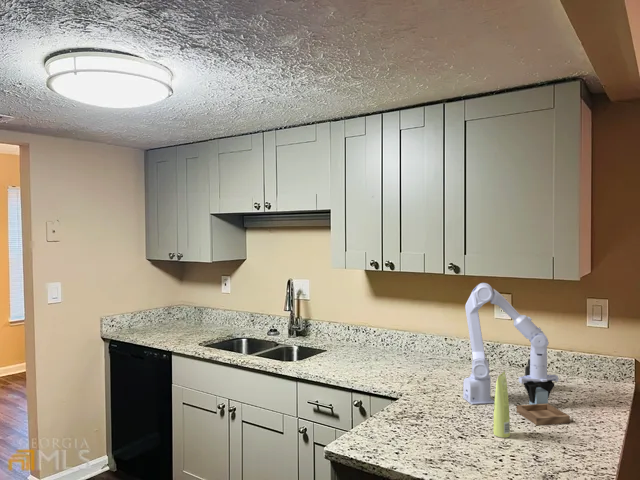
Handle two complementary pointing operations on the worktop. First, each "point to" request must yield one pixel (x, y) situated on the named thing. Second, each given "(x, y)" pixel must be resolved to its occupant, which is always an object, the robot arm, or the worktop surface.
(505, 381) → the tube
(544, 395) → the block
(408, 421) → the worktop surface
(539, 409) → the tray
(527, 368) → the supplement bottle
